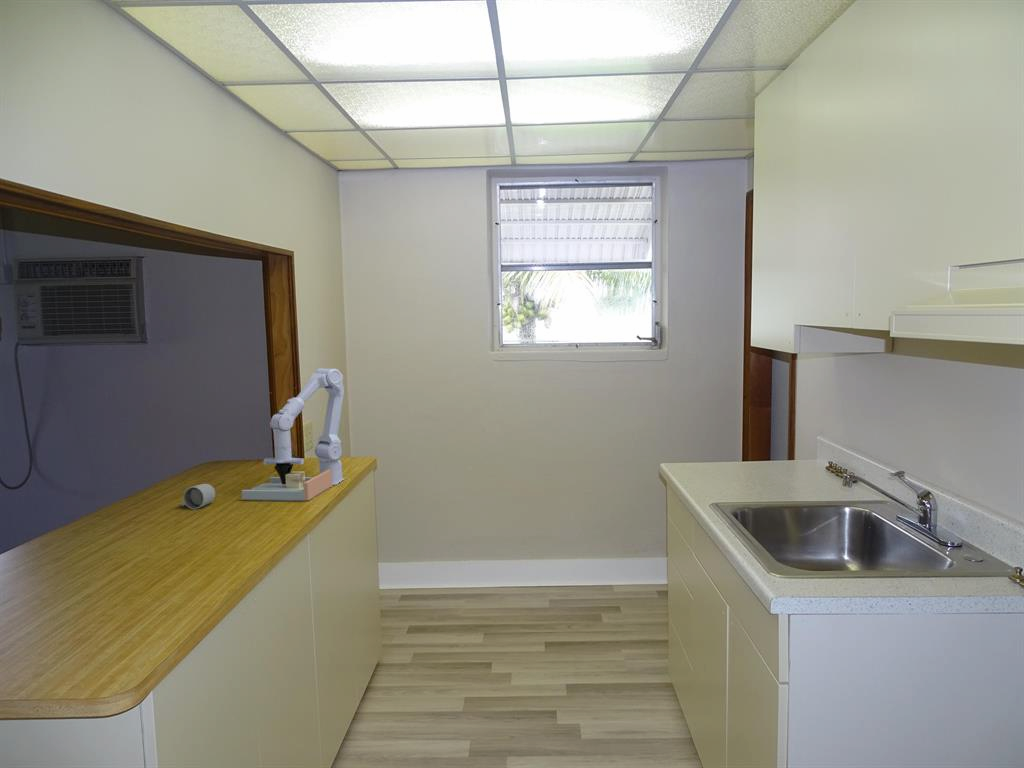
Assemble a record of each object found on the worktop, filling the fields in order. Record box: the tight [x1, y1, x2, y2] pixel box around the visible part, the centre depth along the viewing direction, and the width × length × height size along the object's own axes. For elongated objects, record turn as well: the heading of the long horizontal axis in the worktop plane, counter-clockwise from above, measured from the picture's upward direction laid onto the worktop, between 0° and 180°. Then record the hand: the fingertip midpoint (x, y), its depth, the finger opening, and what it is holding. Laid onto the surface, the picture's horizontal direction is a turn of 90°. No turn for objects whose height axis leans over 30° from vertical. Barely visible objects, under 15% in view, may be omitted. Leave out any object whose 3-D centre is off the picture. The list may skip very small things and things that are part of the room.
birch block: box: [285, 471, 306, 489], centre depth 246 cm, size 5×5×5 cm
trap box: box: [241, 470, 334, 502], centre depth 247 cm, size 21×24×6 cm
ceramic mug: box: [180, 483, 216, 510], centre depth 233 cm, size 11×8×8 cm
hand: (285, 483), depth 247 cm, fingers closed
